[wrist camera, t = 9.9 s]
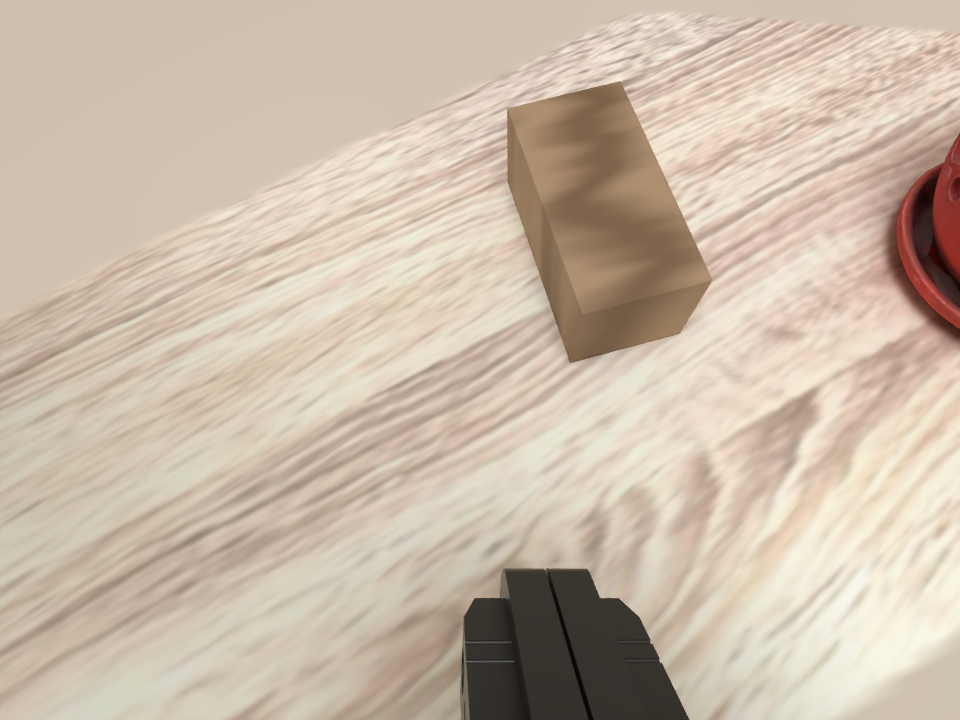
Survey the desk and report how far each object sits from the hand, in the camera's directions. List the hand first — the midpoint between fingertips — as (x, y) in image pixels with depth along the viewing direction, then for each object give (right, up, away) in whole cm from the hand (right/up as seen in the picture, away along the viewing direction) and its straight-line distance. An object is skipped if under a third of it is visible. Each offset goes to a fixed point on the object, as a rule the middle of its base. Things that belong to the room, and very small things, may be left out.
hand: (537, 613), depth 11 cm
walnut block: (+6, +6, +19) cm, 21 cm away
